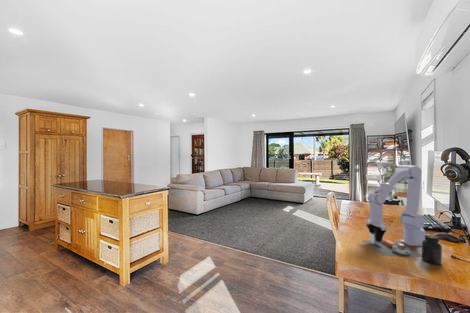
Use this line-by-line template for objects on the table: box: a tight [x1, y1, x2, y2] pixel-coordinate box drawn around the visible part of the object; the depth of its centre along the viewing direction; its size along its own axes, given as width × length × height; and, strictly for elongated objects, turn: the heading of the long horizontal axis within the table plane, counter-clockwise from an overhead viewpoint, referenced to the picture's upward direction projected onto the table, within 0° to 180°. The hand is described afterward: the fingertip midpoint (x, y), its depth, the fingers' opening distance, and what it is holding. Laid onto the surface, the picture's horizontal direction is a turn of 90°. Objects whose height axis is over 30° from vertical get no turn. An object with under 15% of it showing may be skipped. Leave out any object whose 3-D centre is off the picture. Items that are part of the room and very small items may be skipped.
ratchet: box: [383, 238, 410, 257], centre depth 114 cm, size 7×17×4 cm, turn 177°
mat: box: [361, 239, 422, 258], centre depth 115 cm, size 20×20×1 cm
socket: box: [368, 232, 384, 244], centre depth 119 cm, size 5×5×5 cm
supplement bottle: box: [421, 234, 443, 266], centre depth 100 cm, size 7×7×12 cm
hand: (375, 239), depth 119 cm, fingers closed on socket, 5 cm apart
